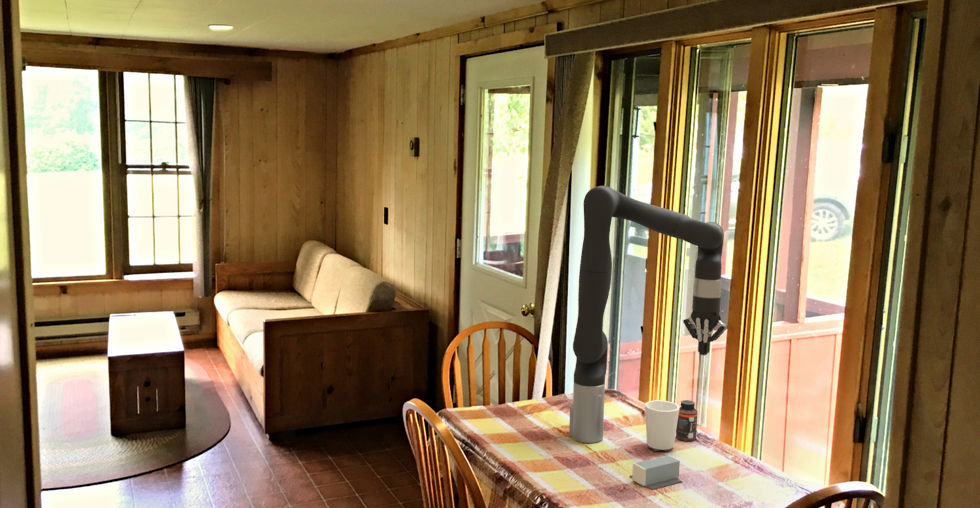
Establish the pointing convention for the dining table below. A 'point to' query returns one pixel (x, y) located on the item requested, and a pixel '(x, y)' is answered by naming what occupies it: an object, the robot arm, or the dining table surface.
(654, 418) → the cup
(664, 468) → the block
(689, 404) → the supplement bottle
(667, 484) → the mat
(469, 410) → the dining table surface
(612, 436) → the dining table surface
